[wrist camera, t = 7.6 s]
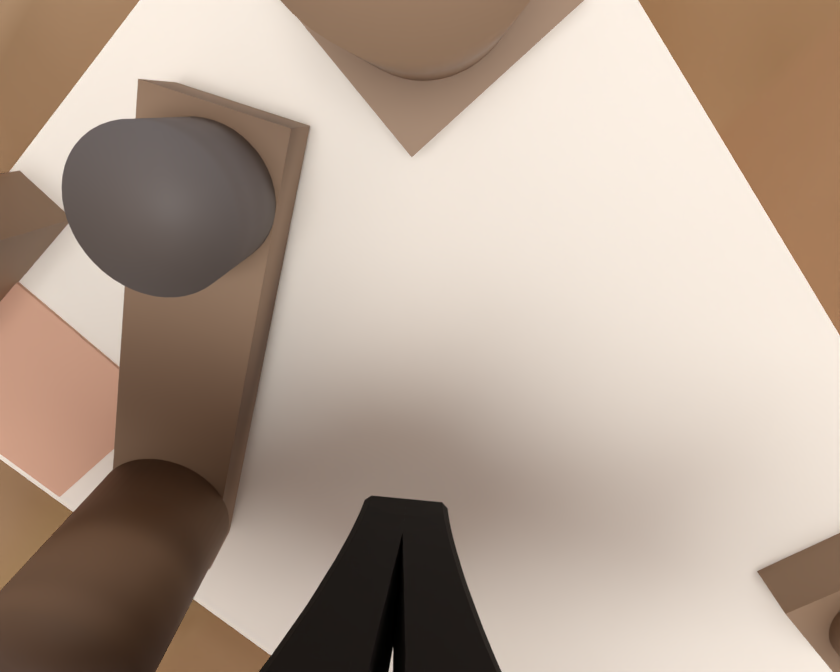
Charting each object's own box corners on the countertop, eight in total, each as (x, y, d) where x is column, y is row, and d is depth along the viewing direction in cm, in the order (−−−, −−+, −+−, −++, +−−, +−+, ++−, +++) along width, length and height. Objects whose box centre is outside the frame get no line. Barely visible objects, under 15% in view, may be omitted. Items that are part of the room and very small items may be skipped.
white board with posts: (940, 551, 12) (1282, 859, 7) (477, 749, 16) (490, 1030, 11) (424, -273, 7) (361, -1252, 2) (-64, 330, 11) (-481, 512, 6)
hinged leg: (162, 77, 7) (-113, 49, 4) (322, 130, 8) (207, 151, 4) (127, 503, 11) (-37, 705, 7) (238, 533, 11) (135, 744, 7)
